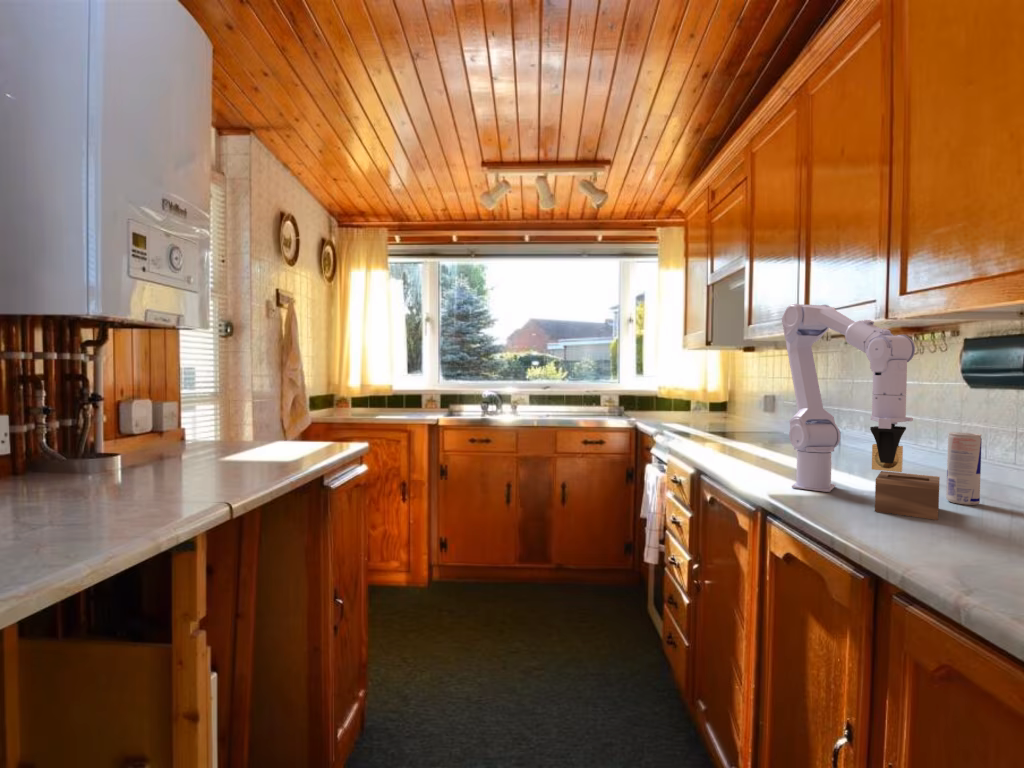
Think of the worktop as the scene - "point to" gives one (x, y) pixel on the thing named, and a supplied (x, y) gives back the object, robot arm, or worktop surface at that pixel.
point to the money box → (907, 494)
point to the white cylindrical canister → (964, 468)
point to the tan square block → (887, 466)
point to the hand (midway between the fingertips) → (887, 462)
